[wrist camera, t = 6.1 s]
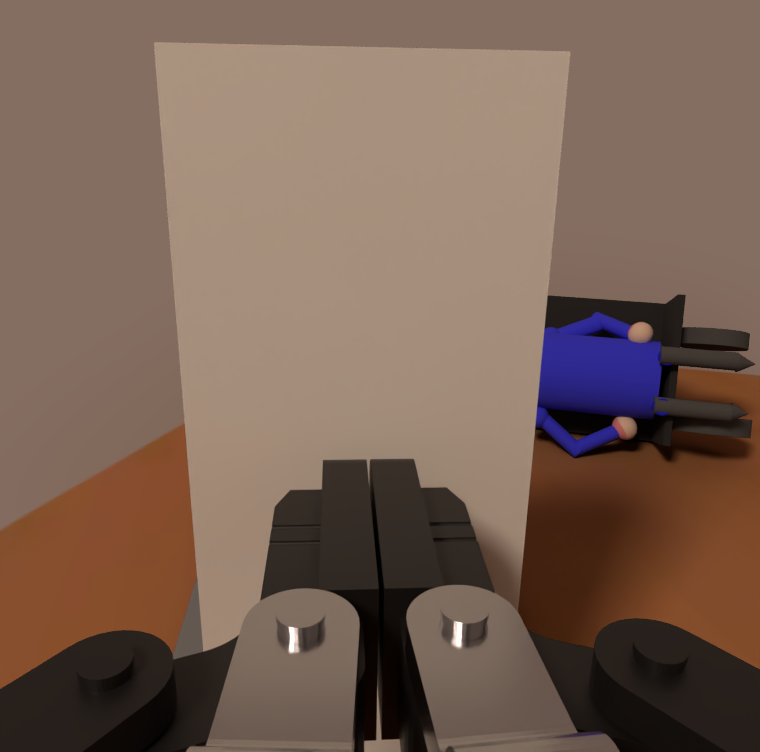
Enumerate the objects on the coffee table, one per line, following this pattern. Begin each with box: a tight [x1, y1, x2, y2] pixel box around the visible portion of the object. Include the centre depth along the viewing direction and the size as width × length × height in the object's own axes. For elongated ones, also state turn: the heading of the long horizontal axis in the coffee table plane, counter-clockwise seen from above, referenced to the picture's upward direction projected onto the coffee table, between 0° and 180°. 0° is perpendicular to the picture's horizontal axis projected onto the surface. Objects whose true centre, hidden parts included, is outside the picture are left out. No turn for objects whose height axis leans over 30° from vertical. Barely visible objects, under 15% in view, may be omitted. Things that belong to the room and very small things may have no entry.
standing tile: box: [154, 42, 570, 752], centre depth 14 cm, size 6×2×15 cm, turn 93°
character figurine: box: [535, 295, 755, 457], centre depth 34 cm, size 8×7×15 cm
